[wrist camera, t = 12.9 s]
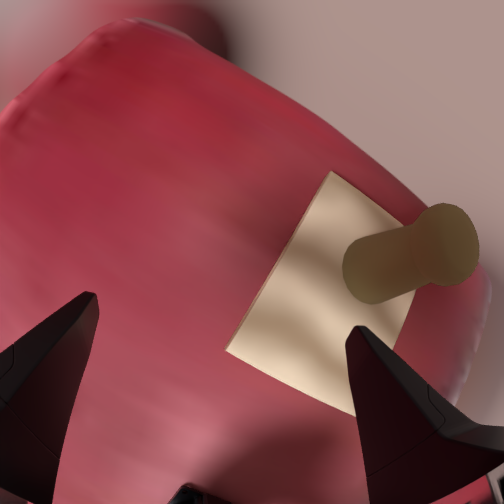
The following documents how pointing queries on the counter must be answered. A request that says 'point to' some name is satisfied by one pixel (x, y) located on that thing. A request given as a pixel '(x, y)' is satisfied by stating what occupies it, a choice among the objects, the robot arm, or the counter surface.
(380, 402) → the robot arm
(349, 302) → the birch board
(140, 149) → the counter surface
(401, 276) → the cork
